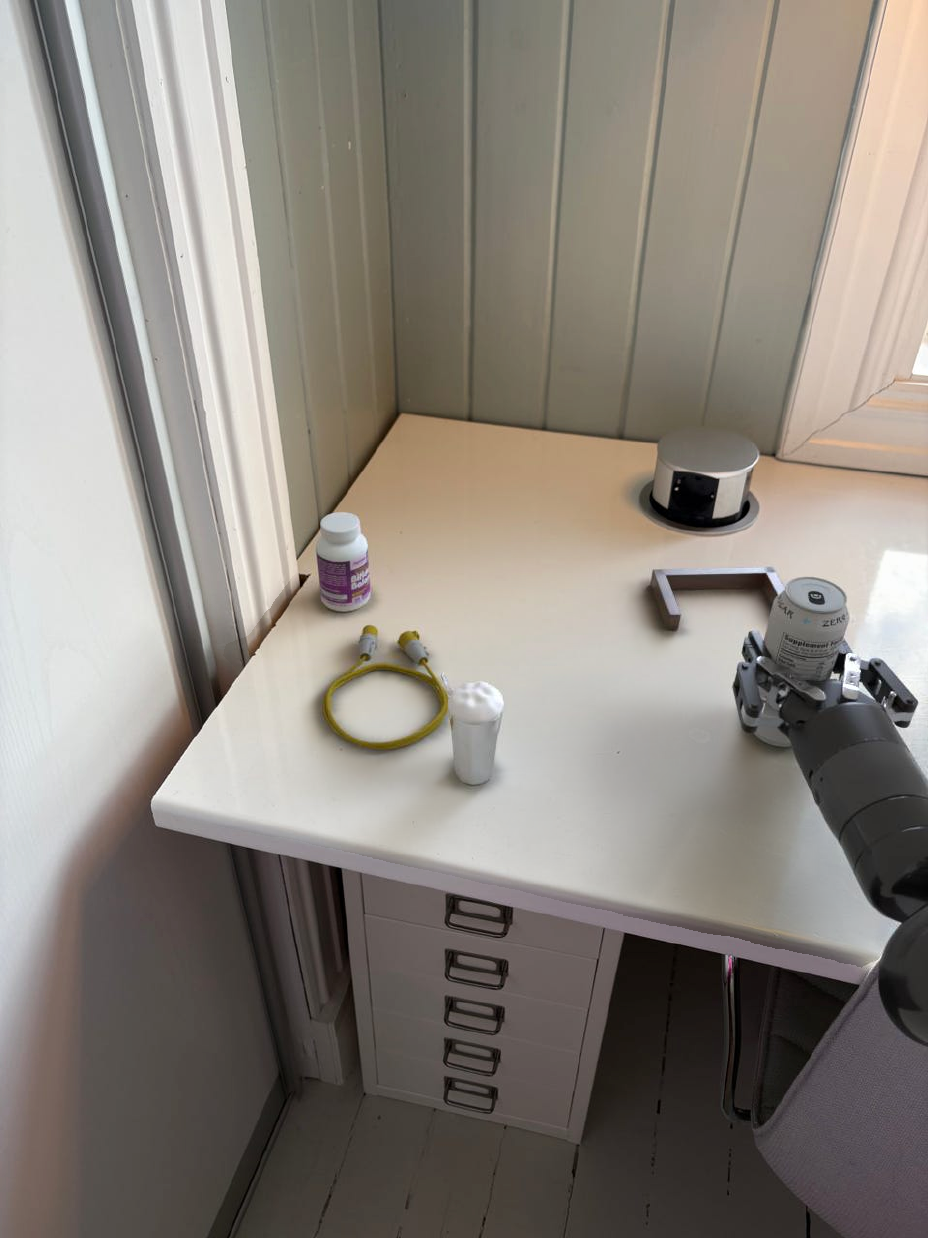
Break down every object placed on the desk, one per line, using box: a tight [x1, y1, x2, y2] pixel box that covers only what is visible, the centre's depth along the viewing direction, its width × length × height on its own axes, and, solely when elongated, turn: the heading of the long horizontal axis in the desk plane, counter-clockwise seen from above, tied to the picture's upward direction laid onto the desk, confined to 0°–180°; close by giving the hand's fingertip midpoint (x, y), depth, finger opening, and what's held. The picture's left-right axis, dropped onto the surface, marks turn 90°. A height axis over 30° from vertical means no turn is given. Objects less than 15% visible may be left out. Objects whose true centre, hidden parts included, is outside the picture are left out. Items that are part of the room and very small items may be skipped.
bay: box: [649, 566, 786, 631], centre depth 99 cm, size 8×13×2 cm, turn 93°
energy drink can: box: [753, 576, 850, 748], centre depth 80 cm, size 6×6×15 cm
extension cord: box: [322, 624, 449, 751], centre depth 87 cm, size 12×16×2 cm
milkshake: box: [440, 672, 505, 786], centre depth 77 cm, size 4×5×10 cm
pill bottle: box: [315, 511, 371, 613], centre depth 97 cm, size 5×5×10 cm
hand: (788, 638), depth 81 cm, fingers closed on energy drink can, 6 cm apart
